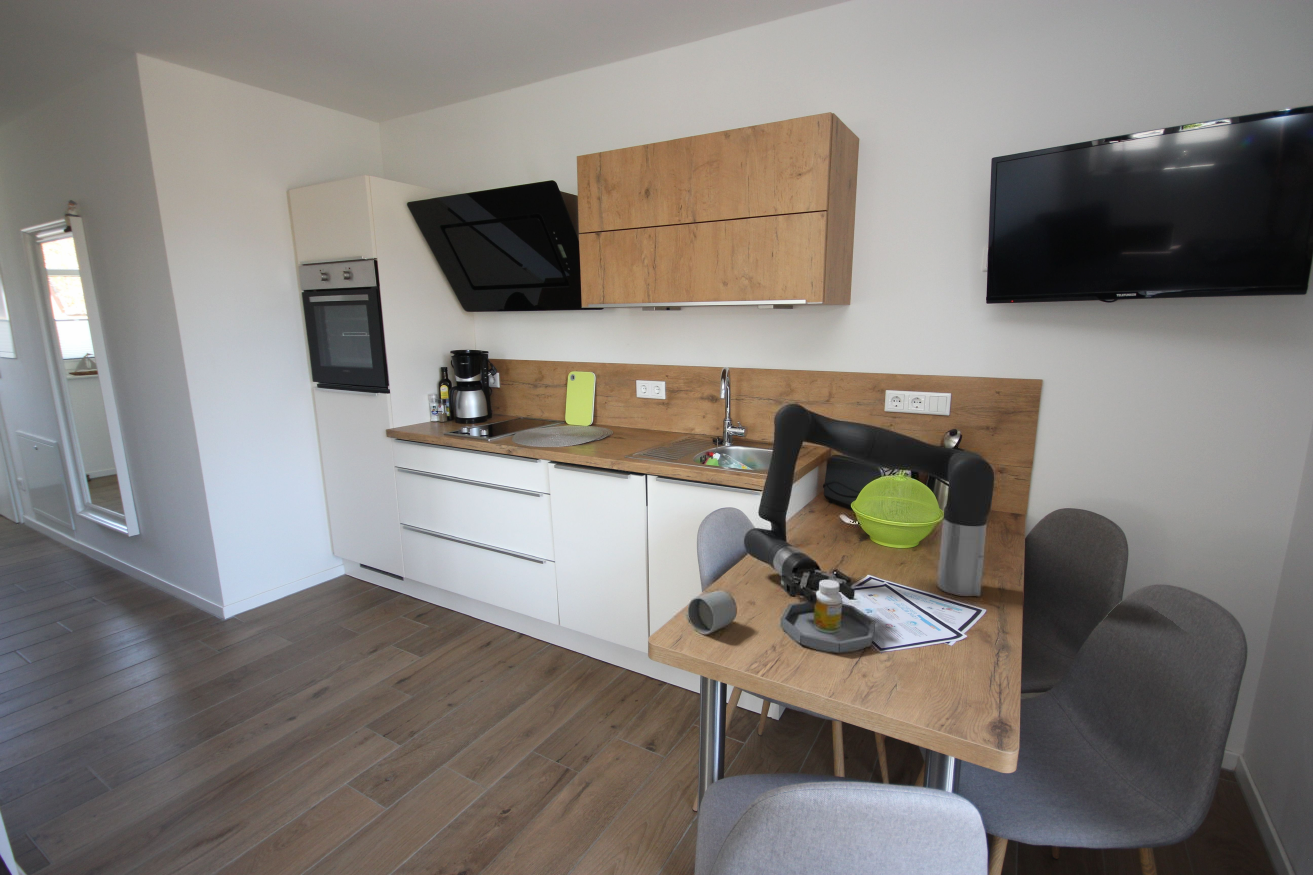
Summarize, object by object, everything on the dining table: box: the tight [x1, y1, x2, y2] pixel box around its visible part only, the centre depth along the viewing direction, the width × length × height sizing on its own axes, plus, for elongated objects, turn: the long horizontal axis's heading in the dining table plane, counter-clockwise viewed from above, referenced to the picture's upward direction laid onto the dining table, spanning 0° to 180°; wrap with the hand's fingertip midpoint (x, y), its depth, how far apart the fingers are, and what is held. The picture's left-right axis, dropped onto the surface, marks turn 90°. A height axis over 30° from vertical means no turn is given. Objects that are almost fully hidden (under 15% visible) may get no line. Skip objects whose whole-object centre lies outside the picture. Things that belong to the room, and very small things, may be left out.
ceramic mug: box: [685, 590, 738, 636], centre depth 127 cm, size 11×8×8 cm
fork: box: [839, 514, 859, 525], centre depth 193 cm, size 3×20×2 cm, turn 44°
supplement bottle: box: [814, 580, 843, 633], centre depth 125 cm, size 5×5×10 cm
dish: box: [780, 600, 877, 654], centre depth 125 cm, size 18×18×2 cm
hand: (834, 597), depth 123 cm, fingers open, 8 cm apart
